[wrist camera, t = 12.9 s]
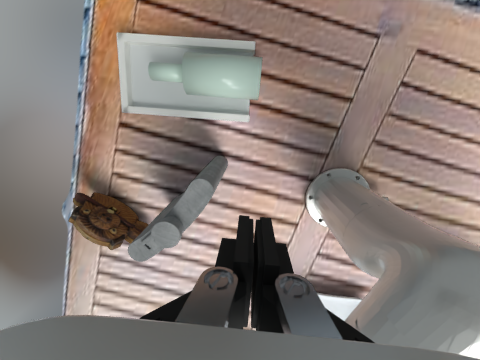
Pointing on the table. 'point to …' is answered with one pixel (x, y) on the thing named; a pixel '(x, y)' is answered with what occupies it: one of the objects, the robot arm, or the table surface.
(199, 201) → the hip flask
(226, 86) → the bottle
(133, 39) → the white rectangular tray
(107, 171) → the table surface
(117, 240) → the wooden carving
